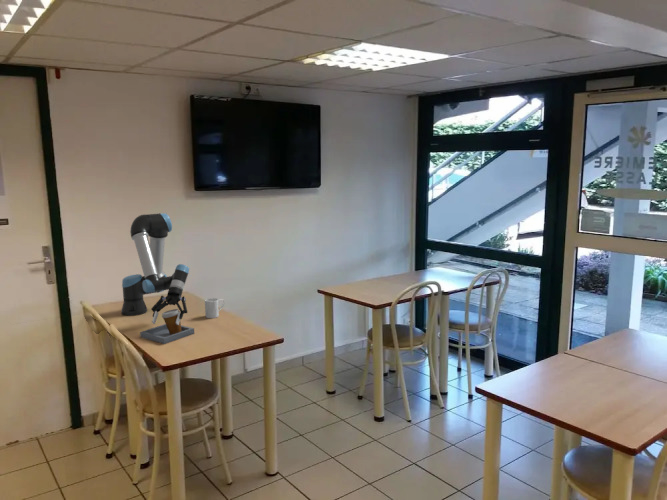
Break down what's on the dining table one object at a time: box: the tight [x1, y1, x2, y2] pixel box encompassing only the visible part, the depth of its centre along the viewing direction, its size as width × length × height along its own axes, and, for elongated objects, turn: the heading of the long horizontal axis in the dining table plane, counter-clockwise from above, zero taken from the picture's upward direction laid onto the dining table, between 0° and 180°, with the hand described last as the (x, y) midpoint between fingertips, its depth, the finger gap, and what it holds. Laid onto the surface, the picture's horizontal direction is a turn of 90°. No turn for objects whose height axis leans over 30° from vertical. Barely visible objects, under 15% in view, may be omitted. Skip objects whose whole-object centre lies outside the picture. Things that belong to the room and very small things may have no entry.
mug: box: [204, 297, 226, 319], centre depth 324 cm, size 12×8×10 cm, turn 125°
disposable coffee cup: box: [161, 308, 182, 334], centre depth 289 cm, size 10×10×12 cm
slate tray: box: [139, 323, 195, 345], centre depth 289 cm, size 20×20×3 cm
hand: (165, 323), depth 286 cm, fingers open, 13 cm apart
